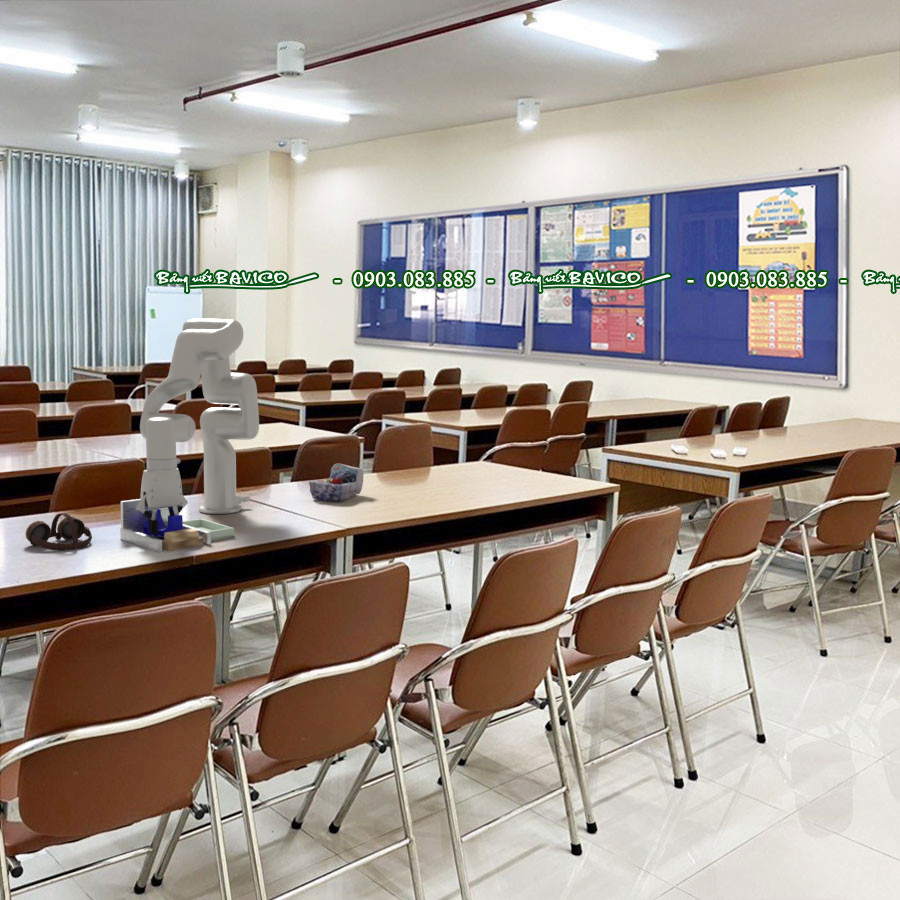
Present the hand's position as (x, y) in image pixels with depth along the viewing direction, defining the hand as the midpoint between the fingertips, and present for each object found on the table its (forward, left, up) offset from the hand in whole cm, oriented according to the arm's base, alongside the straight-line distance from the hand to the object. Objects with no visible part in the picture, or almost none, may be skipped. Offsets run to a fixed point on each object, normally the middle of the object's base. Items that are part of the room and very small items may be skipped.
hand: (163, 531), depth 270 cm
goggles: (+22, -11, -3) cm, 25 cm away
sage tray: (-12, 0, -2) cm, 12 cm away
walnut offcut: (0, +10, -3) cm, 10 cm away
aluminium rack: (0, +1, -2) cm, 3 cm away
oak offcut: (0, +10, 0) cm, 10 cm away
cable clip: (0, 0, -1) cm, 1 cm away
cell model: (-75, -21, -3) cm, 78 cm away
